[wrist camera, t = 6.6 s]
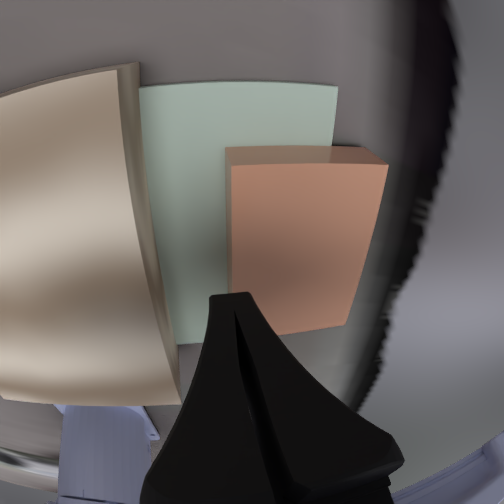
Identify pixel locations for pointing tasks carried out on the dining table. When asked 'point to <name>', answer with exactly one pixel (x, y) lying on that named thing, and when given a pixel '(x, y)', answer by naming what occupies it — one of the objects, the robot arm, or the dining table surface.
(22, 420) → the dining table surface
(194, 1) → the dining table surface
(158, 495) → the robot arm
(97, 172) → the plate
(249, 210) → the tile
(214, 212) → the mat
